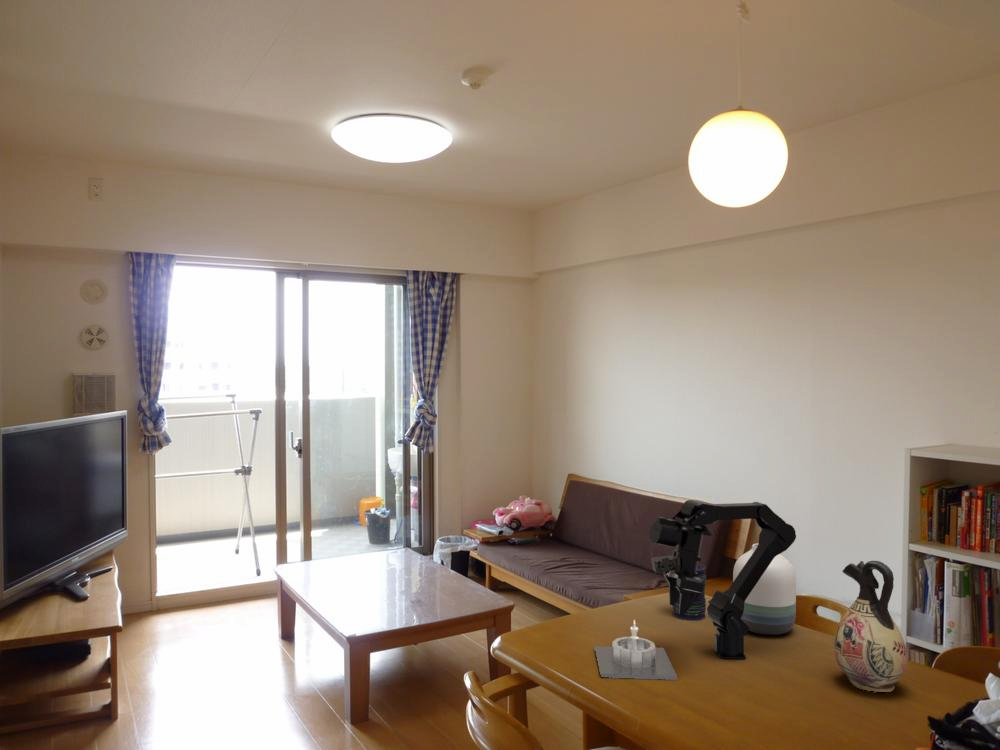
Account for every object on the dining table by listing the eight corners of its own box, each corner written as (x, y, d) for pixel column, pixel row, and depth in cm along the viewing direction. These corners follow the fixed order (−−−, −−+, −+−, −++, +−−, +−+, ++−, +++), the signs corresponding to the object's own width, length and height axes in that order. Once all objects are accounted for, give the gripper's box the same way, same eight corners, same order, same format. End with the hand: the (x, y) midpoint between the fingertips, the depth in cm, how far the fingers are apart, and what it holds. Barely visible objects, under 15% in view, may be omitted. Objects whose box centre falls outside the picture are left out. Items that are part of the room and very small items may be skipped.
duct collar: (663, 651, 188) (663, 632, 188) (677, 680, 170) (677, 658, 170) (594, 649, 188) (594, 630, 189) (600, 678, 170) (601, 657, 171)
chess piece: (624, 663, 177) (624, 622, 177) (623, 655, 182) (624, 616, 182) (644, 664, 176) (645, 623, 176) (643, 656, 181) (643, 617, 181)
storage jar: (673, 619, 213) (673, 569, 213) (671, 609, 223) (671, 561, 223) (707, 621, 211) (707, 571, 211) (703, 611, 221) (704, 563, 221)
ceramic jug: (818, 678, 171) (818, 553, 171) (864, 668, 177) (864, 547, 178) (881, 708, 155) (881, 570, 156) (929, 696, 162) (929, 563, 162)
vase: (720, 625, 208) (720, 543, 208) (759, 616, 217) (759, 537, 217) (768, 644, 193) (768, 555, 194) (808, 633, 202) (808, 548, 202)
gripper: (649, 536, 193) (638, 594, 192) (666, 549, 174) (654, 613, 173) (689, 545, 193) (678, 603, 192) (711, 559, 174) (698, 623, 173)
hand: (676, 610), depth 182 cm, fingers open, 9 cm apart
